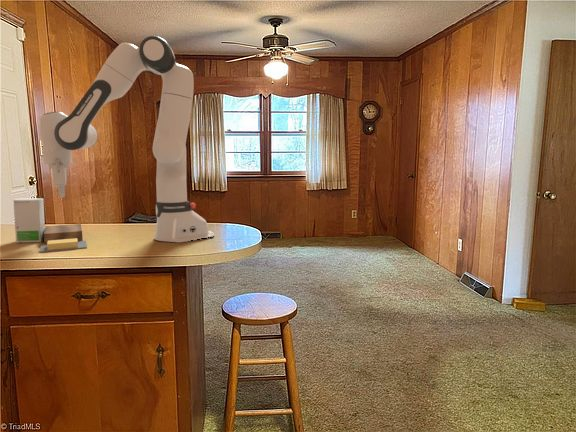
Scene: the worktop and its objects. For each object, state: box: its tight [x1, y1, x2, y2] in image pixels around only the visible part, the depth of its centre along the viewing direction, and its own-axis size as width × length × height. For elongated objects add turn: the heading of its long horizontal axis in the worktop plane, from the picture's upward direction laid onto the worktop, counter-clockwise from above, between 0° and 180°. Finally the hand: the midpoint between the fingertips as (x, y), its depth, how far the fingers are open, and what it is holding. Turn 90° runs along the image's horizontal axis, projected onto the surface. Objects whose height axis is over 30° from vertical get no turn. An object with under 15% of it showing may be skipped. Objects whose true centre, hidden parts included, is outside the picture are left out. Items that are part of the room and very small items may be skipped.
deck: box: [43, 223, 84, 244], centre depth 154 cm, size 12×16×4 cm
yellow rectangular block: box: [47, 238, 78, 250], centre depth 140 cm, size 9×6×2 cm, turn 118°
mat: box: [39, 240, 88, 254], centre depth 142 cm, size 14×11×1 cm
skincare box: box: [13, 197, 46, 244], centre depth 150 cm, size 8×7×16 cm
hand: (62, 197), depth 149 cm, fingers closed
